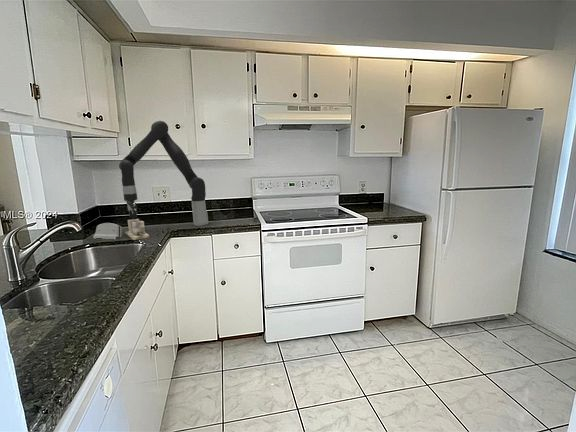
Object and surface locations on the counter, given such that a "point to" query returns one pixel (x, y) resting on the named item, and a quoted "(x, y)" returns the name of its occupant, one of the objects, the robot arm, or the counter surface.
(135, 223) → the beige hat shape
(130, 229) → the cream upright block
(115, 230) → the grey rounded block
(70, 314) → the counter surface
